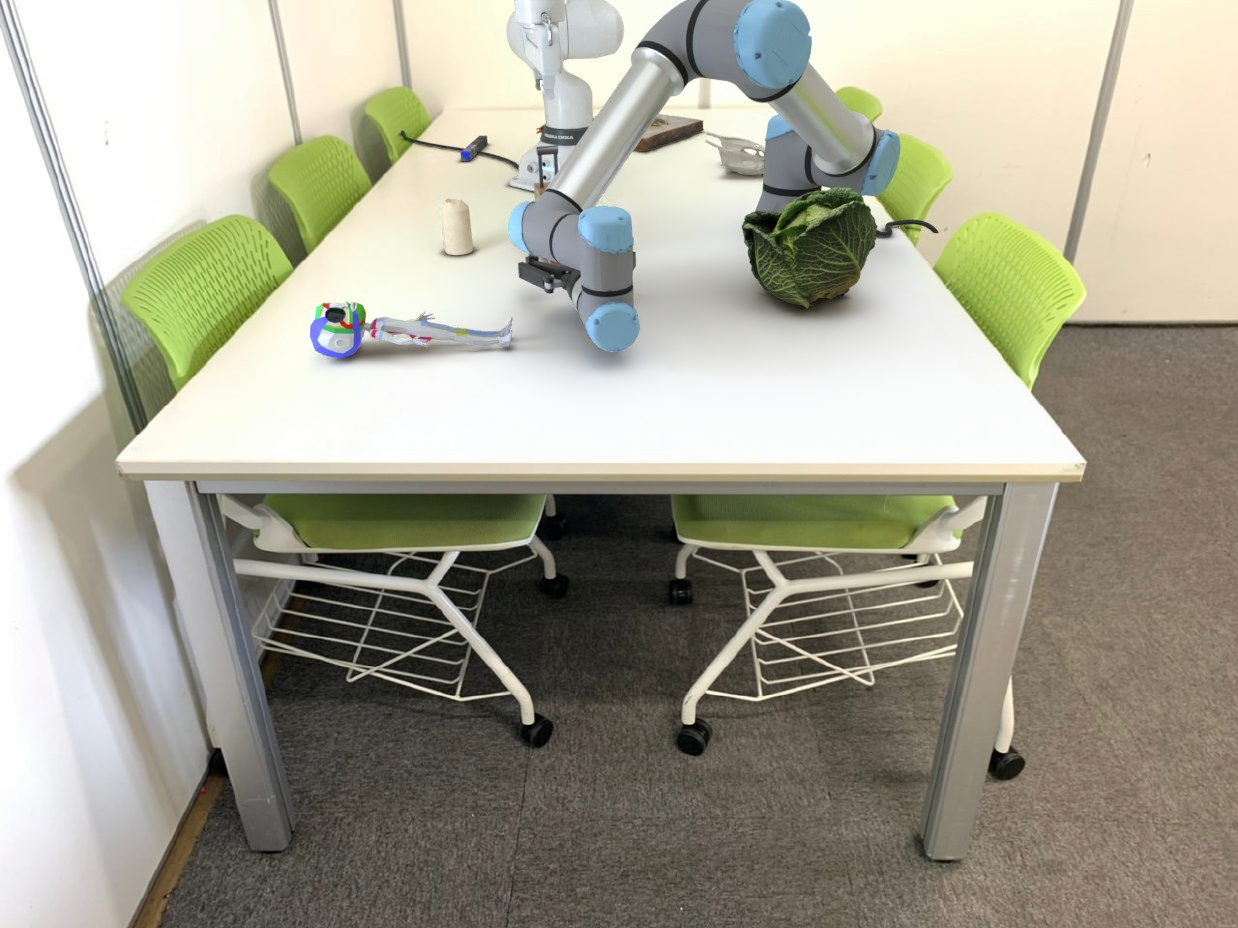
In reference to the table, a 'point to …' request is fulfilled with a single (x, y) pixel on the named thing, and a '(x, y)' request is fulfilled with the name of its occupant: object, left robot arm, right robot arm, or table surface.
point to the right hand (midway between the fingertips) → (569, 250)
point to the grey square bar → (474, 148)
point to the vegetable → (811, 245)
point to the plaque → (668, 131)
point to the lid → (541, 151)
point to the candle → (456, 227)
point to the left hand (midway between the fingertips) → (544, 94)
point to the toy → (386, 330)
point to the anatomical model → (739, 155)
